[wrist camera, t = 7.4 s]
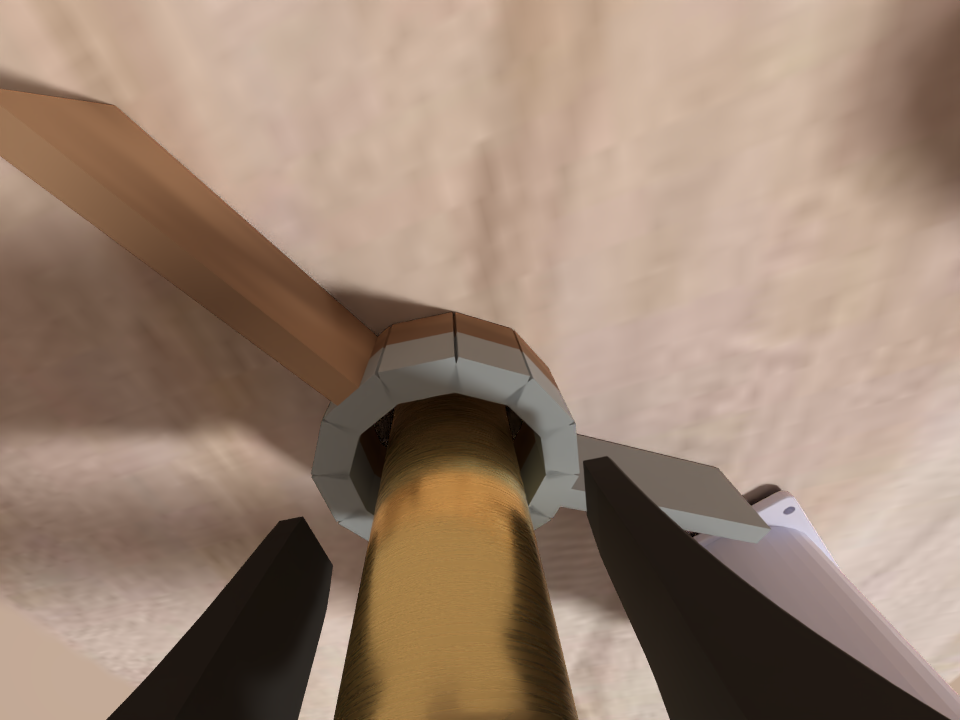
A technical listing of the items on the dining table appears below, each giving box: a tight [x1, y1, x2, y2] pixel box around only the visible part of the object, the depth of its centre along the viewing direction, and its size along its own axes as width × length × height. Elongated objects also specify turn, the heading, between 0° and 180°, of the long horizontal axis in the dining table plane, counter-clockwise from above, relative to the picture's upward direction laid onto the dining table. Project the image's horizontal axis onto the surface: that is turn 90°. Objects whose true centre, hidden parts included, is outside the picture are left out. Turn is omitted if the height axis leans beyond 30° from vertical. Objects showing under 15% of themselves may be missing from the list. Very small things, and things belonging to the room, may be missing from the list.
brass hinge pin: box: [334, 392, 578, 720], centre depth 10 cm, size 4×4×9 cm
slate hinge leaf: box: [311, 332, 771, 544], centre depth 13 cm, size 14×10×3 cm
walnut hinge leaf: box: [0, 89, 559, 478], centre depth 11 cm, size 16×8×3 cm, turn 41°
